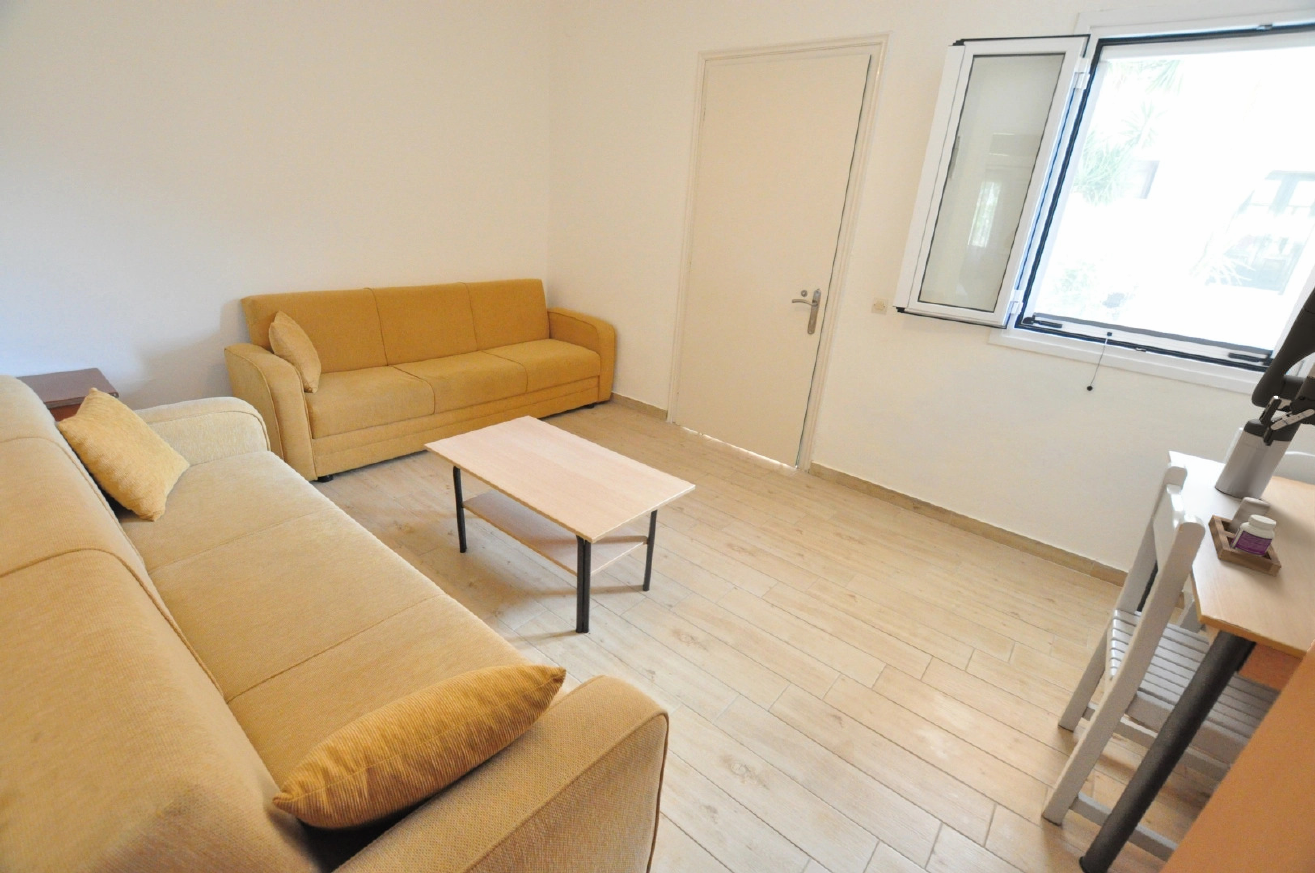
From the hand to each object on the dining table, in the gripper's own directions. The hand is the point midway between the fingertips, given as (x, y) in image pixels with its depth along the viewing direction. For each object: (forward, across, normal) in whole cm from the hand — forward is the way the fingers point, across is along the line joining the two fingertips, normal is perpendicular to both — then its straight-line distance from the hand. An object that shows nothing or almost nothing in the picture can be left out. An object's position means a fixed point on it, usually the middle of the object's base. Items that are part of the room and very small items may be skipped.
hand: (1294, 450), depth 119 cm
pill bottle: (+24, +1, +8) cm, 25 cm away
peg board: (+24, +1, +3) cm, 24 cm away
